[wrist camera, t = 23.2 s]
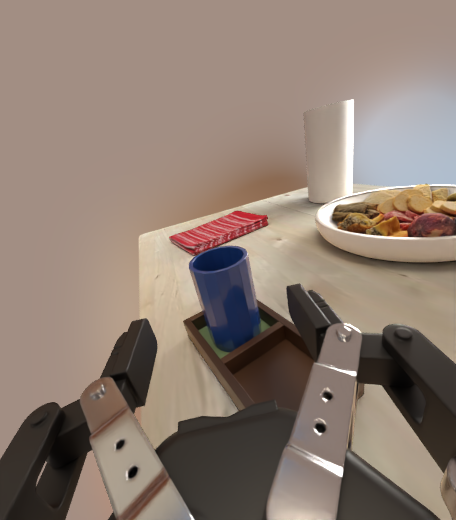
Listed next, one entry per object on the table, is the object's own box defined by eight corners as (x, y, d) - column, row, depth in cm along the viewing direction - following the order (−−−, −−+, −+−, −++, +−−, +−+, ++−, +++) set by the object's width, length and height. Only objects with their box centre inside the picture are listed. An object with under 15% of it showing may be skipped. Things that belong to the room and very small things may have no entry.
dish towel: (271, 224, 64) (270, 214, 62) (194, 257, 54) (190, 246, 53) (236, 216, 77) (235, 209, 76) (169, 242, 68) (167, 233, 67)
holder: (282, 473, 16) (277, 453, 15) (188, 336, 30) (182, 320, 29) (364, 393, 20) (365, 372, 19) (245, 304, 34) (242, 289, 33)
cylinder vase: (352, 191, 76) (354, 101, 66) (351, 201, 67) (353, 98, 56) (312, 195, 82) (307, 113, 72) (305, 205, 73) (299, 112, 62)
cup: (227, 362, 24) (203, 280, 20) (203, 331, 29) (180, 260, 25) (272, 333, 27) (259, 254, 23) (243, 309, 32) (228, 241, 27)
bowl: (292, 230, 56) (289, 197, 53) (406, 200, 59) (410, 167, 55) (393, 295, 29) (400, 236, 26) (598, 235, 31) (628, 174, 28)
